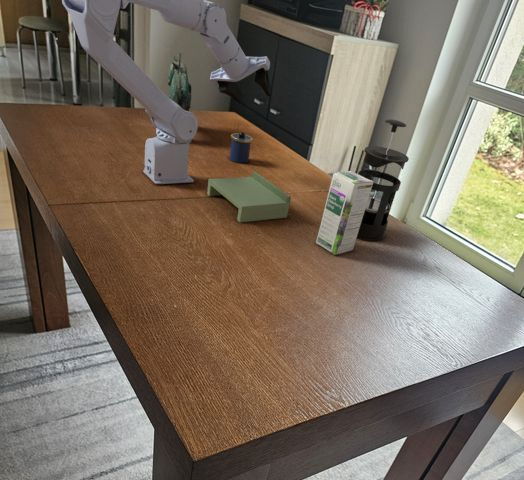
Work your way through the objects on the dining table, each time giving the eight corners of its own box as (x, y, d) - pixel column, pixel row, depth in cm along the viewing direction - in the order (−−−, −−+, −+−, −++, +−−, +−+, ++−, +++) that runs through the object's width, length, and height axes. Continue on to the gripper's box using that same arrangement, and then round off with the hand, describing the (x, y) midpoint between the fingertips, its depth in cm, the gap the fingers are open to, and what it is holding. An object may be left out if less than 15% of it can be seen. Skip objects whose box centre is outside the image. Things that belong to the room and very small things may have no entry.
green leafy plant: (165, 121, 155) (168, 46, 143) (186, 123, 156) (191, 49, 144) (168, 141, 140) (171, 59, 128) (191, 143, 141) (197, 63, 129)
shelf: (239, 222, 104) (242, 200, 102) (206, 194, 114) (208, 173, 111) (286, 217, 110) (291, 196, 108) (252, 191, 120) (255, 171, 117)
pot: (234, 163, 133) (238, 135, 129) (224, 156, 137) (227, 128, 132) (253, 163, 136) (257, 135, 132) (242, 155, 140) (246, 128, 135)
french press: (393, 243, 109) (431, 131, 95) (354, 242, 106) (388, 127, 92) (369, 219, 117) (401, 114, 103) (332, 218, 114) (360, 109, 100)
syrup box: (314, 243, 102) (331, 172, 93) (334, 238, 106) (352, 169, 97) (334, 255, 99) (354, 183, 90) (354, 250, 103) (375, 180, 94)
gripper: (259, 28, 108) (284, 75, 120) (203, 46, 115) (232, 89, 127) (255, 55, 107) (281, 100, 118) (198, 72, 113) (228, 113, 125)
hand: (255, 96), depth 122 cm, fingers open, 7 cm apart
